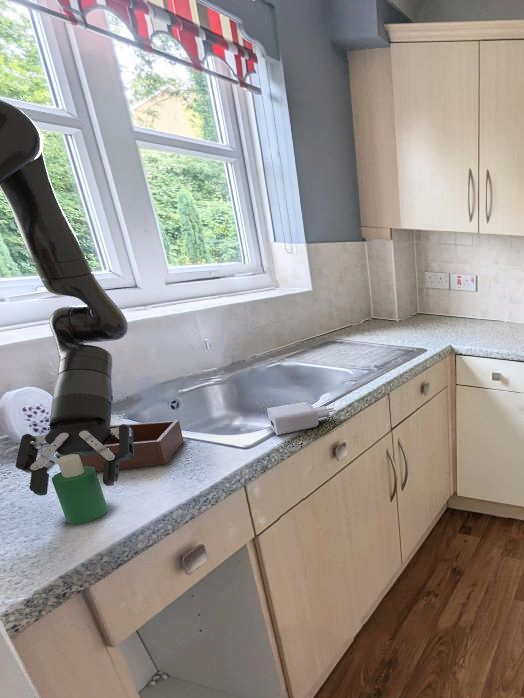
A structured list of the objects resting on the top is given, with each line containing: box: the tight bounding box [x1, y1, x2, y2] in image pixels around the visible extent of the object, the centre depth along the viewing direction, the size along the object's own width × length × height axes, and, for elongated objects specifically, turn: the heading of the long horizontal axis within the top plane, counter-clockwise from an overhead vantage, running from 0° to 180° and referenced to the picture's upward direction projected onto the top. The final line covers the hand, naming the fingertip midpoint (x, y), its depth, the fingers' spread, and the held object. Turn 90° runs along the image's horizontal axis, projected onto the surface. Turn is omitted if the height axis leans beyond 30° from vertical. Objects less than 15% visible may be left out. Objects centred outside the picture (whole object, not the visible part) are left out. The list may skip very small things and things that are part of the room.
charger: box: [266, 401, 337, 436], centre depth 116 cm, size 5×9×15 cm
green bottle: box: [51, 454, 109, 525], centre depth 76 cm, size 5×5×11 cm
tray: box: [80, 419, 185, 472], centre depth 96 cm, size 14×12×5 cm
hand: (75, 489), depth 74 cm, fingers open, 8 cm apart
